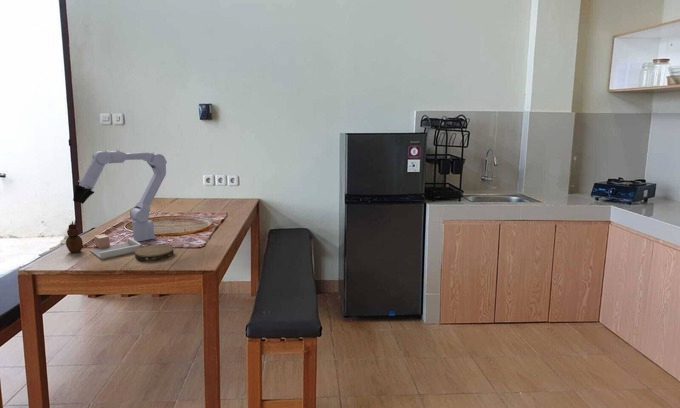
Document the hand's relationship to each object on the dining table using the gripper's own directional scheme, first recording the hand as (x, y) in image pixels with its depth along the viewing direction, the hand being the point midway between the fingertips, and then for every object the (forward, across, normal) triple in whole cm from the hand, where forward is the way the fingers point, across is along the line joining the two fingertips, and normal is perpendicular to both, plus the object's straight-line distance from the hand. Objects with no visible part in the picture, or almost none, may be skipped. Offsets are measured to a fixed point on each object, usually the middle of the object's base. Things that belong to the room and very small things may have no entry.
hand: (78, 202), depth 218 cm
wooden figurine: (+21, -4, +8) cm, 23 cm away
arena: (+14, -1, +24) cm, 28 cm away
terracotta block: (+15, -11, +16) cm, 24 cm away
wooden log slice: (+9, +10, +42) cm, 44 cm away
